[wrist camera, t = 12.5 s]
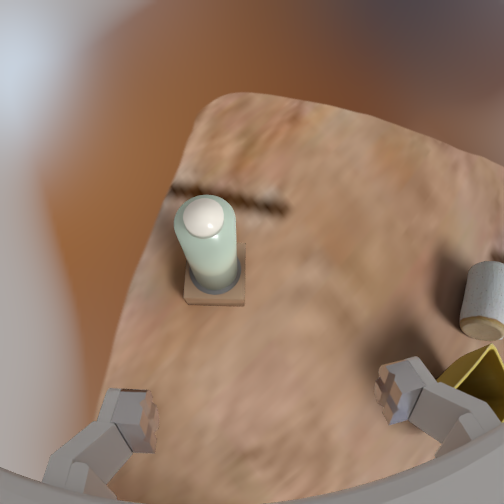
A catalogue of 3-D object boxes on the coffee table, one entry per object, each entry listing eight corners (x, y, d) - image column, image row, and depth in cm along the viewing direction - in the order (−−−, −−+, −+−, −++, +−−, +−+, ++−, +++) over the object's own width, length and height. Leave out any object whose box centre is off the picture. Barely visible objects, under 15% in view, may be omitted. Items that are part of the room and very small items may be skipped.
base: (244, 306, 33) (244, 299, 30) (188, 304, 33) (183, 297, 30) (245, 254, 35) (245, 242, 32) (192, 252, 35) (188, 241, 32)
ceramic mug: (446, 328, 32) (485, 315, 25) (458, 273, 35) (493, 251, 28) (495, 354, 31) (533, 345, 23) (504, 302, 33) (539, 286, 26)
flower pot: (426, 450, 26) (472, 462, 18) (396, 398, 29) (441, 400, 21) (472, 403, 28) (519, 401, 20) (445, 352, 31) (493, 340, 23)
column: (236, 291, 30) (233, 245, 20) (191, 289, 30) (167, 243, 20) (238, 249, 32) (236, 189, 22) (195, 248, 32) (176, 188, 22)
